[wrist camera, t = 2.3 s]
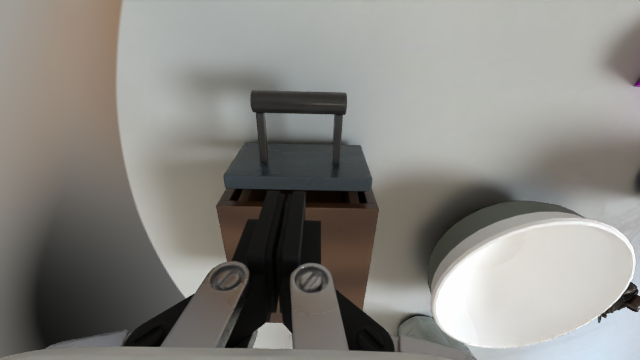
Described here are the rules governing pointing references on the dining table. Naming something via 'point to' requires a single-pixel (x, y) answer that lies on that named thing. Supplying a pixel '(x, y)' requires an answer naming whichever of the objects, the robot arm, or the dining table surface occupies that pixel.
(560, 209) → the bowl
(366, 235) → the cabinet
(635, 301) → the toy car
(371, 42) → the dining table surface
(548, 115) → the dining table surface
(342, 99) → the drawer
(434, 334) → the grey statue
